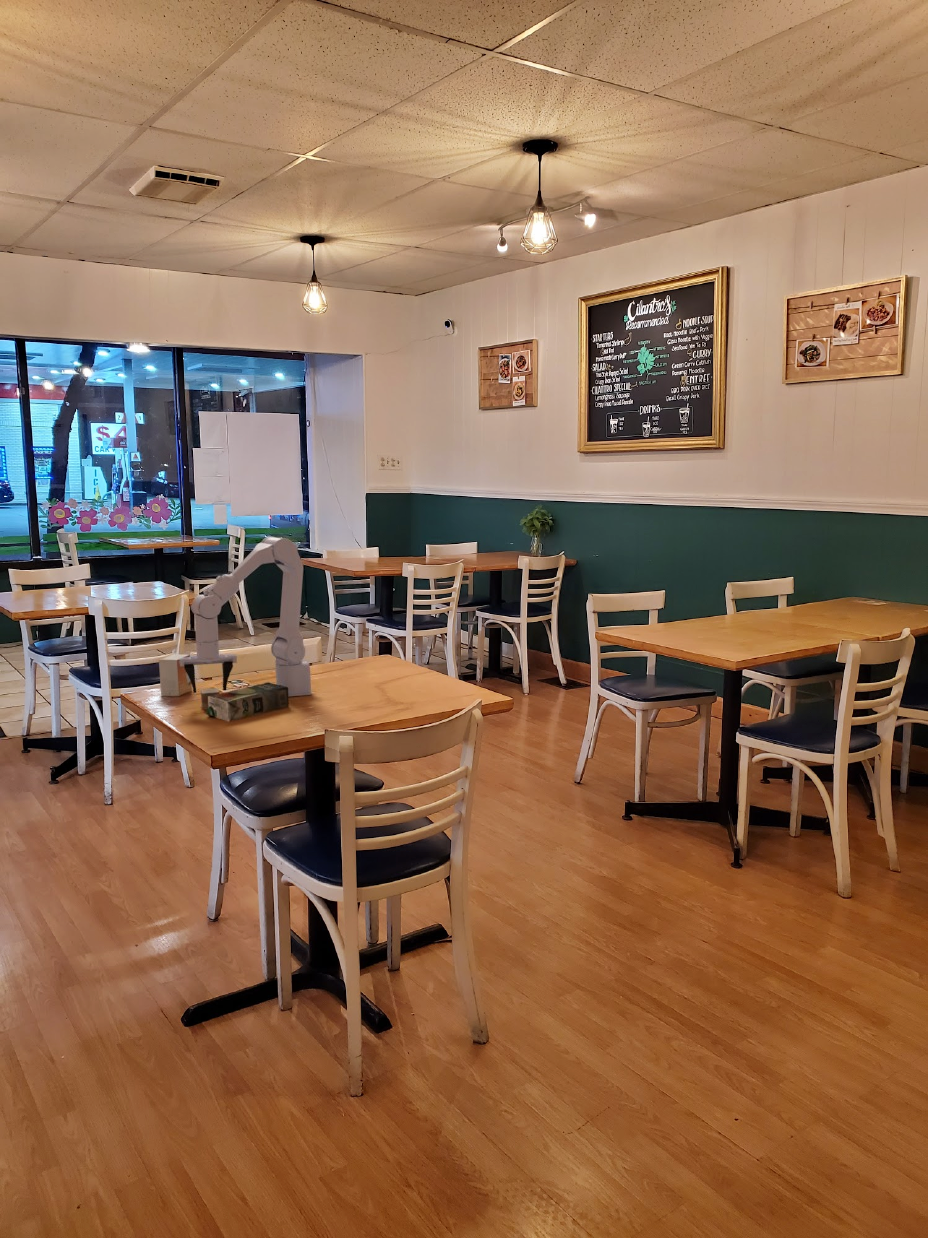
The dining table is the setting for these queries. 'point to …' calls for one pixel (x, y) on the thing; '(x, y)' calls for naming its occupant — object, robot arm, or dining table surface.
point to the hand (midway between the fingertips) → (209, 690)
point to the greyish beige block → (205, 694)
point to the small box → (173, 676)
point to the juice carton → (248, 701)
